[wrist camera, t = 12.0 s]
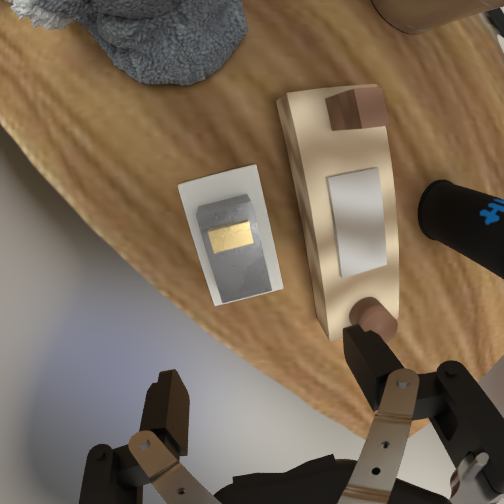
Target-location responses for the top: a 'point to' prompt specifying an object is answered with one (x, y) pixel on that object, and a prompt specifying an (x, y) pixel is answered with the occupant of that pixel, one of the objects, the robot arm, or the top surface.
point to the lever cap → (234, 248)
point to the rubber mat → (221, 189)
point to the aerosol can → (465, 222)
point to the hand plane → (345, 204)
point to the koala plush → (151, 33)
